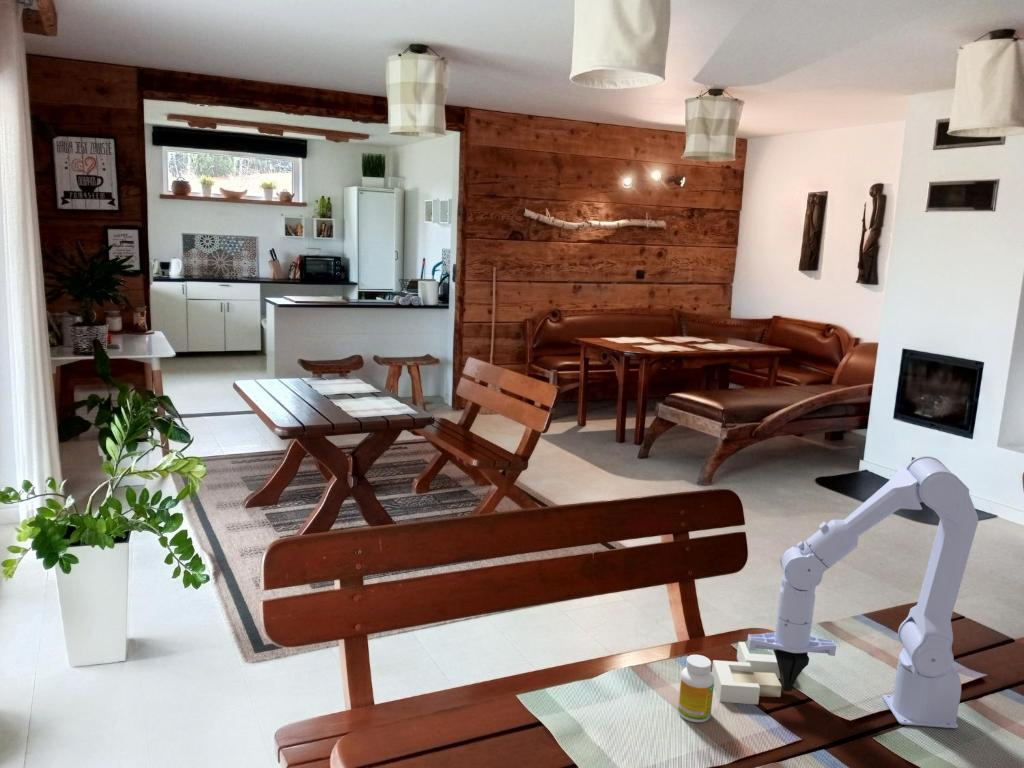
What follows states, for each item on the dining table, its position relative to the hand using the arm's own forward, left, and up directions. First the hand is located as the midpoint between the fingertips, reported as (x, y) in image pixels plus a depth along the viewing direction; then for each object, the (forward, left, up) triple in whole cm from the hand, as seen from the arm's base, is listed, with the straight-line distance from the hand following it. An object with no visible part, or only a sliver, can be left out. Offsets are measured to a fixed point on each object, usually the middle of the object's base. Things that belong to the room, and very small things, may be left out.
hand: (785, 688), depth 142 cm
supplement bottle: (+17, +8, -1) cm, 19 cm away
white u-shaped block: (+2, -8, -1) cm, 8 cm away
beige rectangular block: (+5, -1, -2) cm, 5 cm away
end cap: (+9, 0, -1) cm, 9 cm away
